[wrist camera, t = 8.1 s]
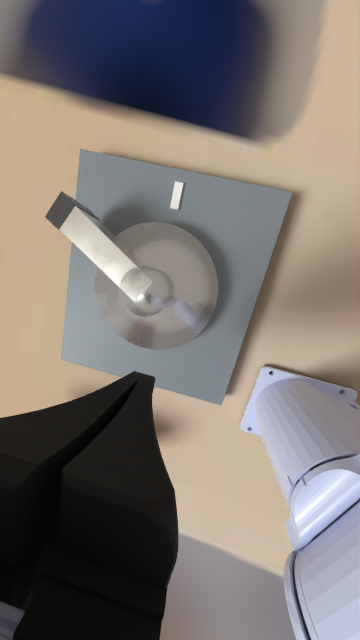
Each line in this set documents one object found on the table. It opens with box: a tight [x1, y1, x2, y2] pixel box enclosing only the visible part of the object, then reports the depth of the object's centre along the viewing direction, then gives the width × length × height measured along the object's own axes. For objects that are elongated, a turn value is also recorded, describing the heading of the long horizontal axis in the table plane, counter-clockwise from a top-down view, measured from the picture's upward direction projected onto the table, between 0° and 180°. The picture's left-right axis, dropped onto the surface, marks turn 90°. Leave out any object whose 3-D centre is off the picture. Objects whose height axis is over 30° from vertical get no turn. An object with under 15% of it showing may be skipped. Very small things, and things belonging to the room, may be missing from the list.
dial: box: [45, 191, 218, 350], centre depth 15 cm, size 11×14×4 cm
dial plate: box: [61, 149, 293, 405], centre depth 18 cm, size 18×20×2 cm
